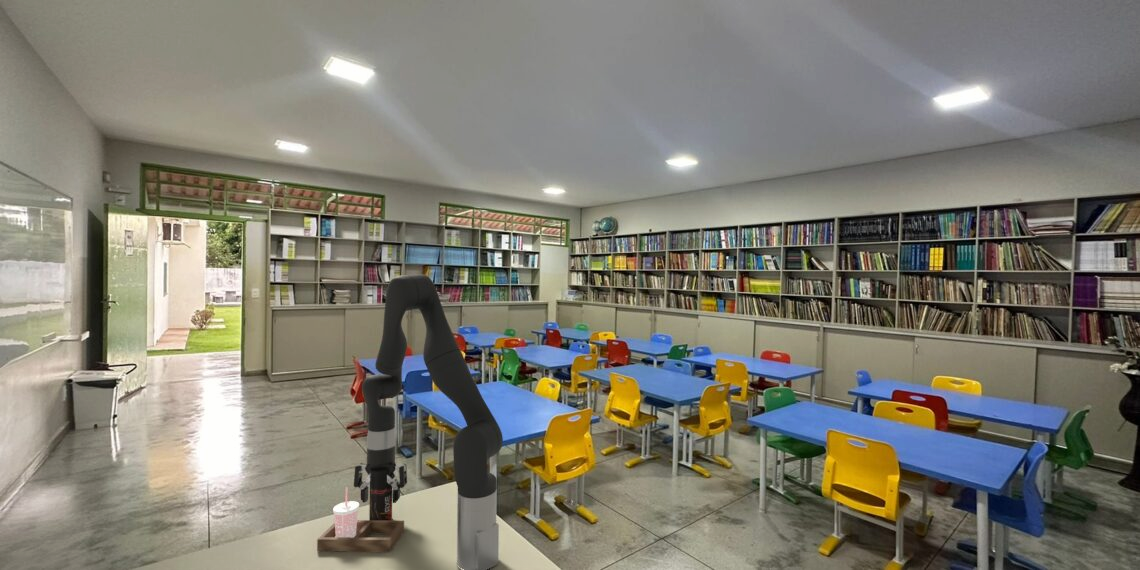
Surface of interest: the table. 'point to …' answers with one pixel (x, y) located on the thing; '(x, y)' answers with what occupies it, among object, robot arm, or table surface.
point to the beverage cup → (346, 518)
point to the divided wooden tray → (363, 537)
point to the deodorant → (380, 495)
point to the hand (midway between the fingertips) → (380, 501)
